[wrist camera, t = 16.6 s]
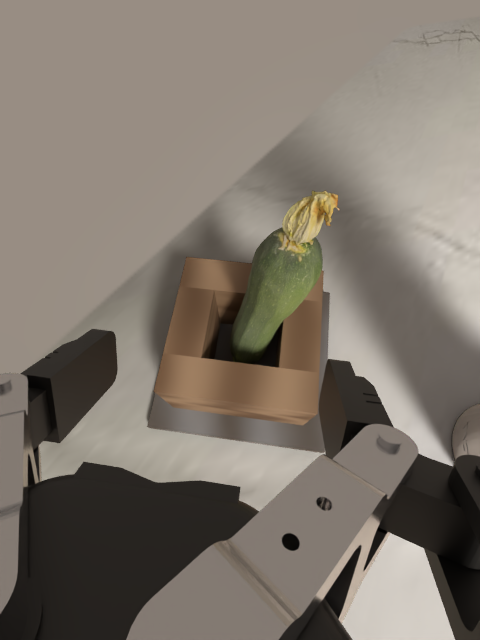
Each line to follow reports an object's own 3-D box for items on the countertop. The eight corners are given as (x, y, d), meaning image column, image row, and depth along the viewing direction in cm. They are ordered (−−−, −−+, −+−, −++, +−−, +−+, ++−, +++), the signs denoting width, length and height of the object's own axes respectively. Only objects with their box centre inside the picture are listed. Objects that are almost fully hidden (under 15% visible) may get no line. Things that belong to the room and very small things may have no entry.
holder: (327, 297, 36) (347, 254, 29) (322, 452, 30) (345, 447, 23) (184, 281, 38) (169, 236, 30) (150, 427, 31) (120, 415, 24)
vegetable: (225, 334, 34) (279, 143, 17) (267, 338, 34) (359, 158, 17) (223, 375, 31) (285, 201, 14) (268, 379, 32) (377, 215, 15)
